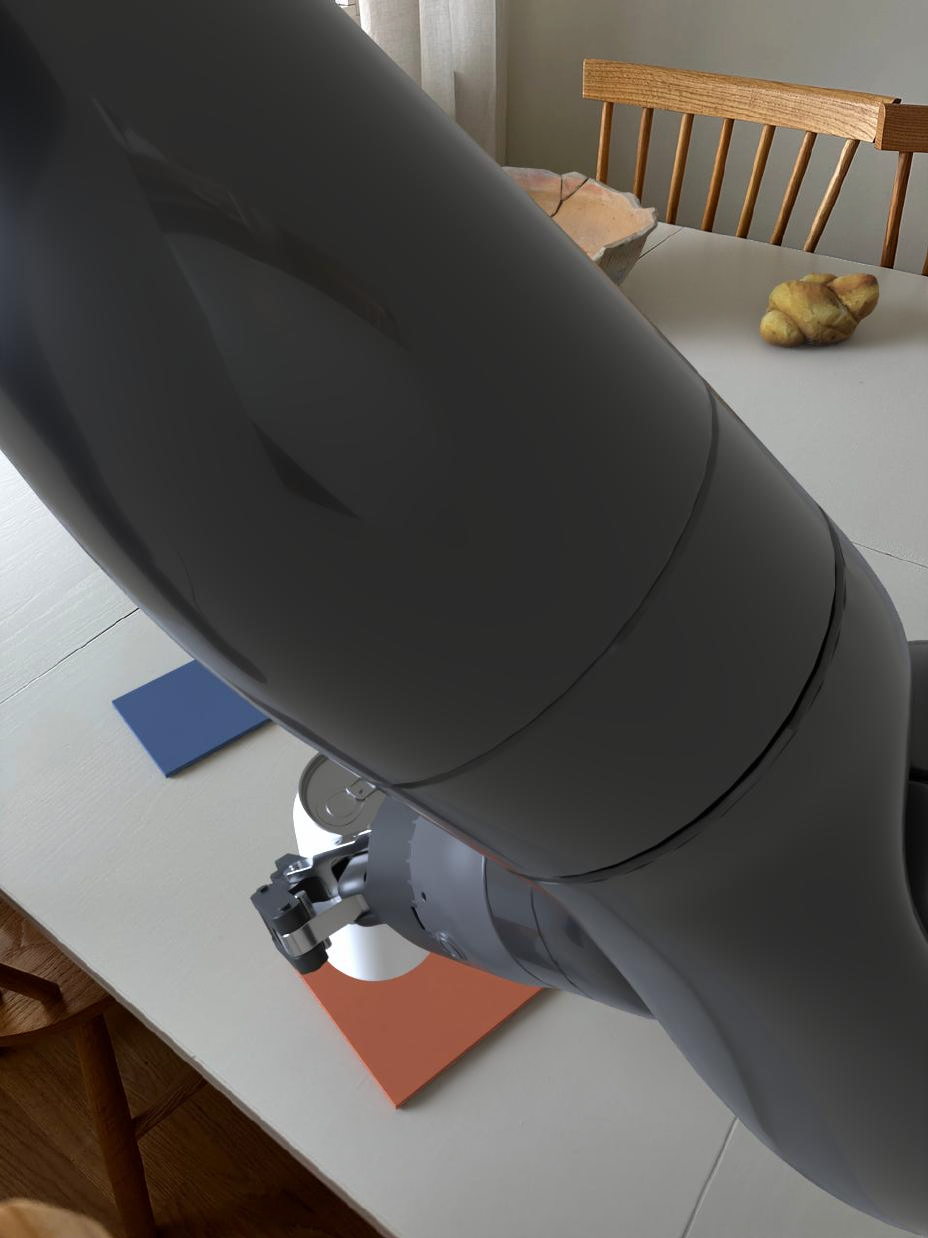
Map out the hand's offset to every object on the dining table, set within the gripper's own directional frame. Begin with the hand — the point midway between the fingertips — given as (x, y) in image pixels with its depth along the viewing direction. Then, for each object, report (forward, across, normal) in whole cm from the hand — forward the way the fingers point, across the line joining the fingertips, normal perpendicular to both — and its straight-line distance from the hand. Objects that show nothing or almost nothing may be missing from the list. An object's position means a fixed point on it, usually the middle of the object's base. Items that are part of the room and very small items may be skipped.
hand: (351, 837), depth 48 cm
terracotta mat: (+9, -2, +11) cm, 14 cm away
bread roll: (+33, -85, -14) cm, 93 cm away
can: (+3, 0, +6) cm, 7 cm away
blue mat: (+28, -3, -8) cm, 29 cm away
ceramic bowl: (+52, -66, -34) cm, 91 cm away
